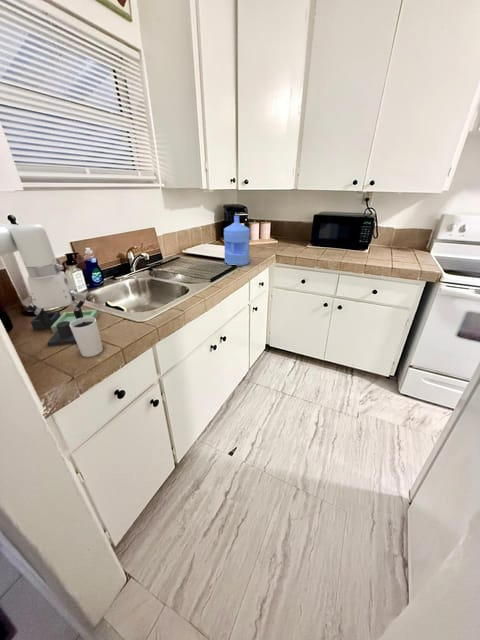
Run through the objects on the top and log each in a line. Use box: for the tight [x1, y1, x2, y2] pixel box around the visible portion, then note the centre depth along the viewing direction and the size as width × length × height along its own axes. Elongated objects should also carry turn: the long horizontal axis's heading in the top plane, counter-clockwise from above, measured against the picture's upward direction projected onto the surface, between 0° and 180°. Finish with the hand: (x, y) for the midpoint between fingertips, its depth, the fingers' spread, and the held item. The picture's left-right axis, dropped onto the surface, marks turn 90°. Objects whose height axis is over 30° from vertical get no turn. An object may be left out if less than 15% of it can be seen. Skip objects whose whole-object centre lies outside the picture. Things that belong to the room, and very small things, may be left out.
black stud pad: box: [46, 321, 77, 347], centre depth 84 cm, size 8×8×5 cm
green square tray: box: [50, 309, 99, 334], centre depth 94 cm, size 12×12×2 cm
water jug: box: [223, 215, 251, 267], centre depth 158 cm, size 16×16×28 cm
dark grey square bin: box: [29, 311, 62, 331], centre depth 92 cm, size 7×7×4 cm
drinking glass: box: [70, 317, 104, 358], centre depth 76 cm, size 7×7×10 cm
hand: (63, 322), depth 83 cm, fingers open, 9 cm apart
